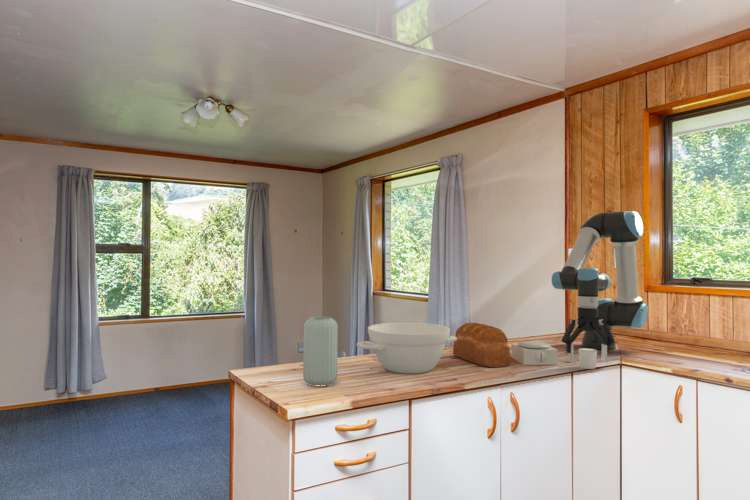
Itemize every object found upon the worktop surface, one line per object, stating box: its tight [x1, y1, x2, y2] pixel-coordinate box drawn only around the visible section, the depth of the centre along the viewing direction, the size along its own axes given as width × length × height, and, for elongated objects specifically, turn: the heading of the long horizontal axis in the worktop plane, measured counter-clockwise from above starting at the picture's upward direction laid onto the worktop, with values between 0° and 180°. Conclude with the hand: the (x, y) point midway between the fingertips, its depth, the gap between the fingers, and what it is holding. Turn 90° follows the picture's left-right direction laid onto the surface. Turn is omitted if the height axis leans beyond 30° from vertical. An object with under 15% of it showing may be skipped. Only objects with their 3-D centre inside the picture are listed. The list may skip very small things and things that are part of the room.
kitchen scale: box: [511, 340, 559, 366], centre depth 205 cm, size 15×14×7 cm
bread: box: [452, 322, 511, 368], centre depth 206 cm, size 14×26×16 cm, turn 23°
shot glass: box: [577, 347, 598, 370], centre depth 194 cm, size 7×7×7 cm
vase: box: [302, 316, 339, 386], centre depth 167 cm, size 12×12×22 cm
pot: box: [356, 321, 457, 375], centre depth 190 cm, size 44×32×16 cm
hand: (587, 361), depth 194 cm, fingers open, 13 cm apart
